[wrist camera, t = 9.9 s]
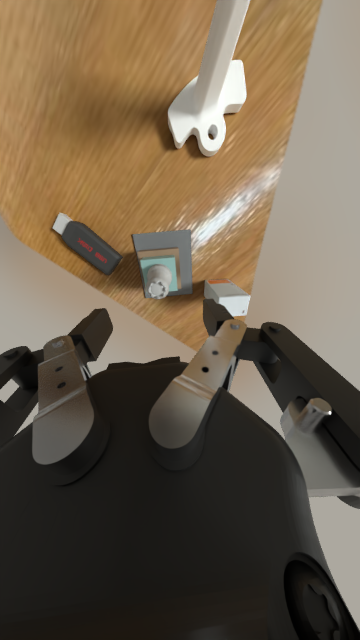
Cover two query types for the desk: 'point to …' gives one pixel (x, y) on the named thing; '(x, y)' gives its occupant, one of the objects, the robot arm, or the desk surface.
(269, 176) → the desk surface
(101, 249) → the usb drive
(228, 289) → the skincare box
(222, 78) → the white ball-topped post
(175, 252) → the walnut block
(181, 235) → the mat
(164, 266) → the rook chess piece
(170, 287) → the teal block
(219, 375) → the robot arm
